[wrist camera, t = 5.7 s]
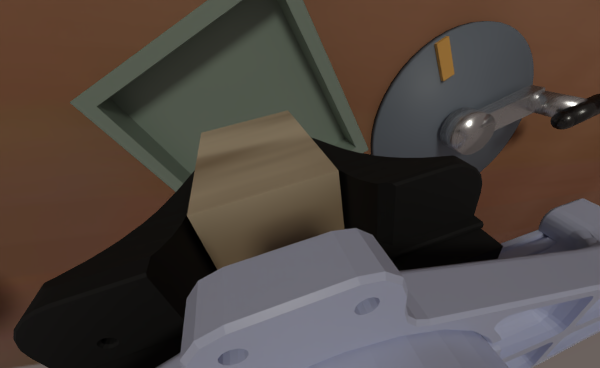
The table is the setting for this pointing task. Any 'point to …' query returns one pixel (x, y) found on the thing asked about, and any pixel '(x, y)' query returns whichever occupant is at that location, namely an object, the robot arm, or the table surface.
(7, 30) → the table surface
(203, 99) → the tray
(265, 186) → the wooden block
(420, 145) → the crank base
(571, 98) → the crank
